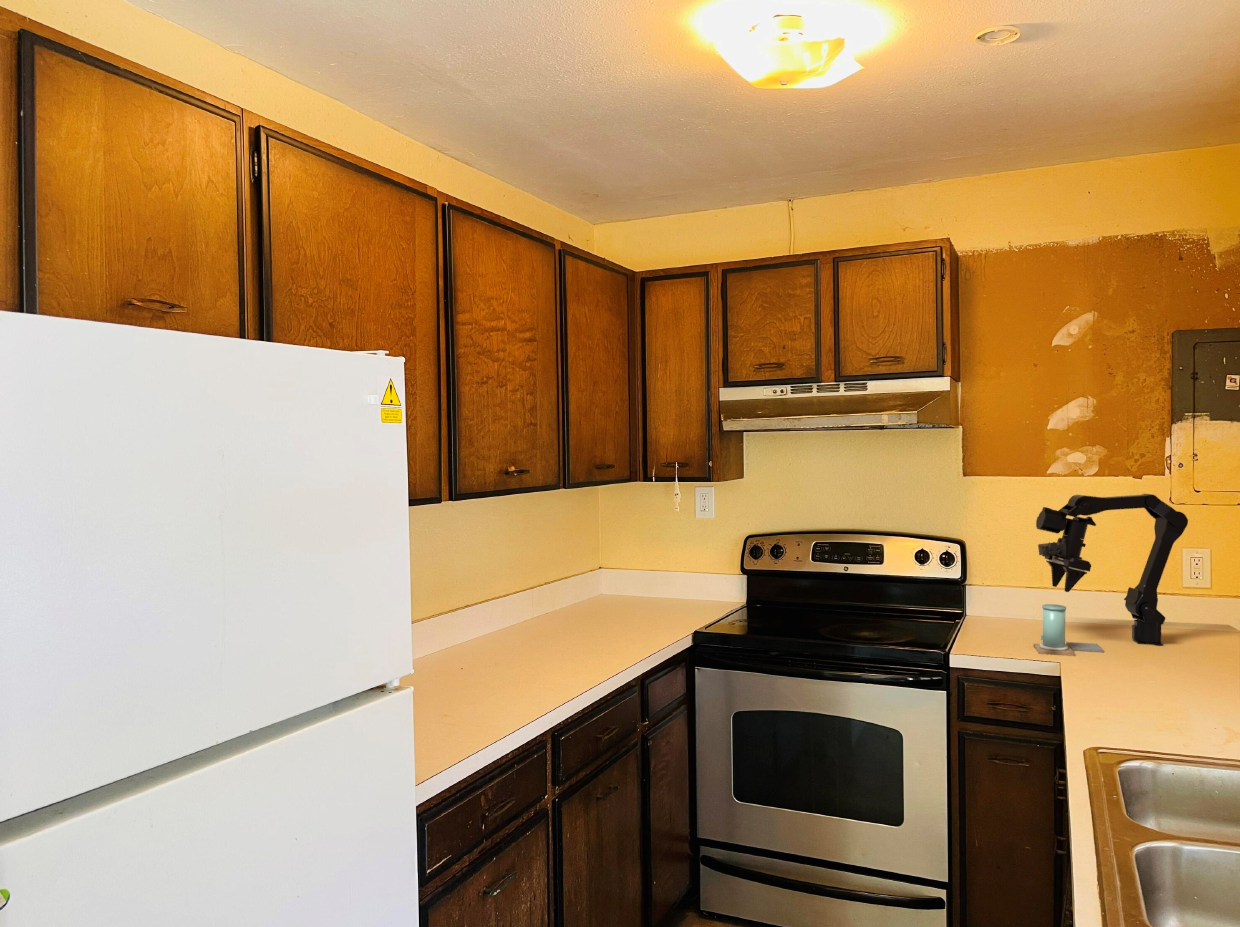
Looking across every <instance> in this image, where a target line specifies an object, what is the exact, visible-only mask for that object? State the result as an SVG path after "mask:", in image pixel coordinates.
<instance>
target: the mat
mask: <svg viewBox="0 0 1240 927" xmlns="http://www.w3.org/2000/svg"><path fill="white" fill-rule="evenodd" d="M1065 645H1068V646H1069V647H1070V648H1071V649H1072V650H1073V651H1074V652H1075V651H1077V652H1092V653H1093V652H1094V653H1105V650H1104V648H1103V647H1102V646H1100V645H1099V644H1098V643H1093V642H1090V643H1089V642H1074V641H1073V642H1071V641H1065Z"/></svg>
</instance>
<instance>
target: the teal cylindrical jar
mask: <svg viewBox="0 0 1240 927" xmlns="http://www.w3.org/2000/svg"><path fill="white" fill-rule="evenodd" d="M1041 608H1042V634H1040V641H1042V643H1043V646H1046V647H1052V648H1064V647H1065V645H1066V610H1067V606H1065V605H1062V604H1053V603H1050V604H1048V603H1047V604H1042V605H1041Z"/></svg>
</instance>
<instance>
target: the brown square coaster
mask: <svg viewBox="0 0 1240 927" xmlns="http://www.w3.org/2000/svg"><path fill="white" fill-rule="evenodd" d="M1033 648H1034V649H1035V650H1036V652H1037V653H1038V654H1041V655H1057V656H1069V657H1070V656H1071V657H1073V656H1075V655H1076V652H1075V651H1073V650H1072V649H1071V648H1070V647H1069V646H1068V645H1067V644H1065V647H1064V648H1052V647H1046V646H1043V642H1042V643H1033Z"/></svg>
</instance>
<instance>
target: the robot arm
mask: <svg viewBox="0 0 1240 927" xmlns="http://www.w3.org/2000/svg"><path fill="white" fill-rule="evenodd" d="M1131 509H1132V510H1133V509H1144V510H1146V512H1147V513H1148V514H1149V516H1150V517H1152V518H1153V519H1154V520H1155V521H1154V527H1153V528H1154V537H1155V538H1154V541H1153V543H1152V546H1151V549H1150V551H1149V555H1148V557H1147V559H1146V562H1145V566H1144V569H1143V571H1142V574H1141V577H1140V580H1139V582H1138V584H1137V585H1136V586H1135V587H1131V586H1129V587H1128V589H1127V593H1126V596H1125V597H1124V598H1123V600H1124V601H1125V603H1124V606H1125V608H1126V610H1127V611H1128V612H1129V613H1130V614H1131V617H1132V619H1134V620H1133V624H1132V625H1131V639H1132V641H1134V643H1136V644H1137V645H1151V646H1152V645H1153V646H1164V643H1163V642H1162V625H1164V624H1165V621H1166V616H1164V614H1163V613H1161V611H1159V610H1158V609H1157V608H1158V603H1159V597H1158V587H1159V586H1160V581H1161V579H1162V576H1163V574H1164V570H1165V568H1166V565H1167V562H1168V559H1169V556H1170V554H1171V551H1172V548H1173V545H1174V543H1175V542H1177V540H1178V539H1179V538H1180V537H1181V536H1182V535H1183V533H1184V532H1185V530H1186V528H1187V526H1188V525H1189V524H1188V523H1189V518H1187V515H1186V514H1185V513H1184V512H1181V511H1179V510H1176V509H1174V508H1173V507H1172V506H1170V505H1169V504H1167V503H1165V502H1164V501H1163V500H1161V499H1160V498H1159V497H1157V495H1156V494H1151V493H1142V494H1133V495H1131V494H1130V495H1118V496H1117V495H1116V496H1114V495H1113V496H1102V497H1101V496H1093V495H1085V494H1084V495H1082V494H1073V495H1072V496H1070V497H1069V499H1068V502H1067V503H1066V504H1065V505H1063V506H1062V507H1061V508H1059V509H1058V510H1056V509H1052V508H1049V507H1045V506H1043V507H1042V509H1041V511H1040V512H1039V514H1038V516H1037V517H1036V520H1035V521H1036V522H1035V528H1036V529H1037V530H1040V531H1043V532H1044V531H1045V532H1049V533H1054V534H1060V533H1061V532H1062V536H1061V537H1058V538H1057V542H1055V541H1053V542H1047V543H1039V544H1037V547H1038V555H1039V556H1042V557H1044V559H1046V563H1047V564H1048V565H1049V566H1050V569H1051V570H1050V571H1051V583H1052V584H1051V585H1052V587H1053V588H1056V587H1058V585H1059V584H1060V582H1061V581H1062V579H1063V577H1064V576H1065V580H1064V581H1065V582H1064V592H1066V593H1070V591H1071V590H1072V589H1073V588H1074V587H1075V586H1076V585H1077V584H1078V582H1079V581H1080V580H1081V579H1082V578H1083V577H1084V576H1085V575H1087V574H1088V572H1091V568H1092V564H1091V562H1090V561H1088V560H1086V559H1083V557H1082V556H1081V554H1082V551H1083V550H1082V549H1083V548H1086V545H1087V544H1086V543H1085V538H1086V533H1087V530H1088V526H1093V527H1096V526H1097V524H1096V522H1095V521H1094V520H1093V516H1092V515H1096V514H1100V513H1102V512H1105V511H1115V510H1117V511H1118V510H1131ZM1067 516H1069V517H1072V518H1068V517H1067ZM1081 516H1083V517H1081Z"/></svg>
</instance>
